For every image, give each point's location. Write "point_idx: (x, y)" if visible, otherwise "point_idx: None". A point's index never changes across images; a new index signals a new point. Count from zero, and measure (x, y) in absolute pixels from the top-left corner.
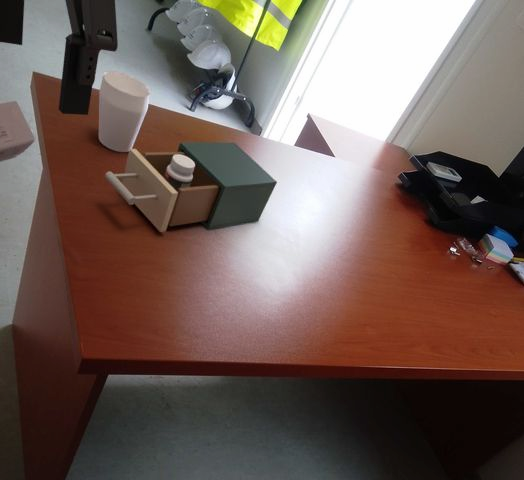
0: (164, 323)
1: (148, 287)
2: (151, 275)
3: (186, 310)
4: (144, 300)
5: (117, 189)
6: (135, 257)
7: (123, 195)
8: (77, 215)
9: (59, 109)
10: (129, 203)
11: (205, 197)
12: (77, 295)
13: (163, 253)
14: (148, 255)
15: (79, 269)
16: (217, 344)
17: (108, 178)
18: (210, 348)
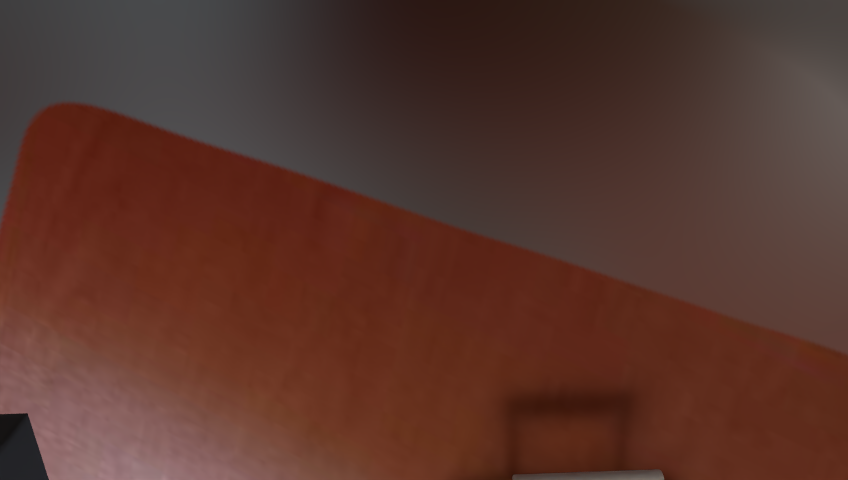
0: (112, 329)
1: (255, 358)
2: (301, 390)
3: (149, 407)
4: (207, 323)
5: (582, 475)
6: (382, 385)
7: (545, 478)
8: (599, 318)
9: (13, 416)
10: (512, 477)
11: None
12: (261, 163)
13: (382, 465)
14: (383, 422)
15: (365, 216)
16: None
17: (641, 475)
18: (4, 392)
